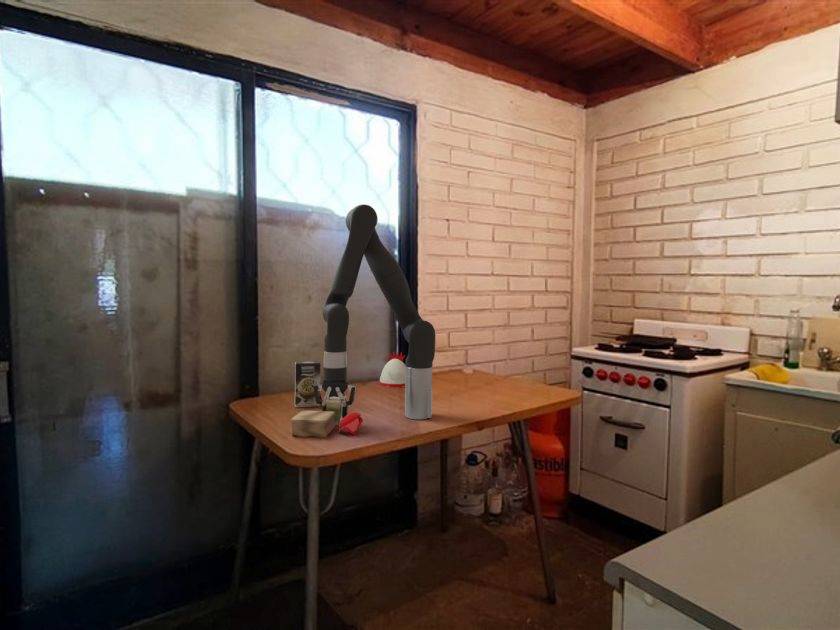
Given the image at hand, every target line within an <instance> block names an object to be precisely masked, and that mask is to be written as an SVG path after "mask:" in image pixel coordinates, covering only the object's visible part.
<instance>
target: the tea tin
mask: <svg viewBox="0 0 840 630" xmlns="http://www.w3.org/2000/svg"><path fill="white" fill-rule="evenodd" d="M342 407H343V405H342V402H341V400H340V398H339V397H335V396H334V397H330V398H328V399H326V411H333V412H335V414H334V426H339V423H340V421H341V420H342V419H343V418H342Z"/></svg>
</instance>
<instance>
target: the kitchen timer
mask: <svg viewBox="0 0 840 630" xmlns="http://www.w3.org/2000/svg"><path fill="white" fill-rule="evenodd" d="M402 354H403V353H402V351H401V352H400V354H398V352H396V354H395V351H393V352H392V354H391V353H390V354H389V357H390V358H389V357H388V356H386V359H387V362H386V364H385V365H384V366H383V368H382V370H381V374H380V377H379V386H381V385H382V386H381V387H383V386H388V387H387V388H391V387H400V388H403V387H402V386H405V365H406V363H404V361H403V360H404V358H405V357H406V356H405V354H404V355H402Z"/></svg>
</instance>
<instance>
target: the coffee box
mask: <svg viewBox="0 0 840 630" xmlns="http://www.w3.org/2000/svg"><path fill="white" fill-rule="evenodd" d="M294 363H295V364H294V366H295V367H294V408H310V407H320V406H321V404H317V403H316V398H315V393H314V388H313V387H314V386H315V385H317V384H318V385H321V366H322V365H321V361H320V360H302V361H301V360H300V361H299V360H297V361H295V362H294Z"/></svg>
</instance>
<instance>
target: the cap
mask: <svg viewBox="0 0 840 630" xmlns="http://www.w3.org/2000/svg"><path fill="white" fill-rule="evenodd" d="M363 422H364V420H363V417H362V416H361V414H360V413H358V412H352V413H351V412H350V413H348V414H347V416H345V417H344V418H343V419H342V420H341V421H340V423H339V425H338V427H339V429H338V432H337V433H340V431H341V430H342V429H344V430H346V432H348V433H350V434H351V435H353V436H355V435H357V432H358V430H359V428H360V427H361V426H362V424H363Z"/></svg>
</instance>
